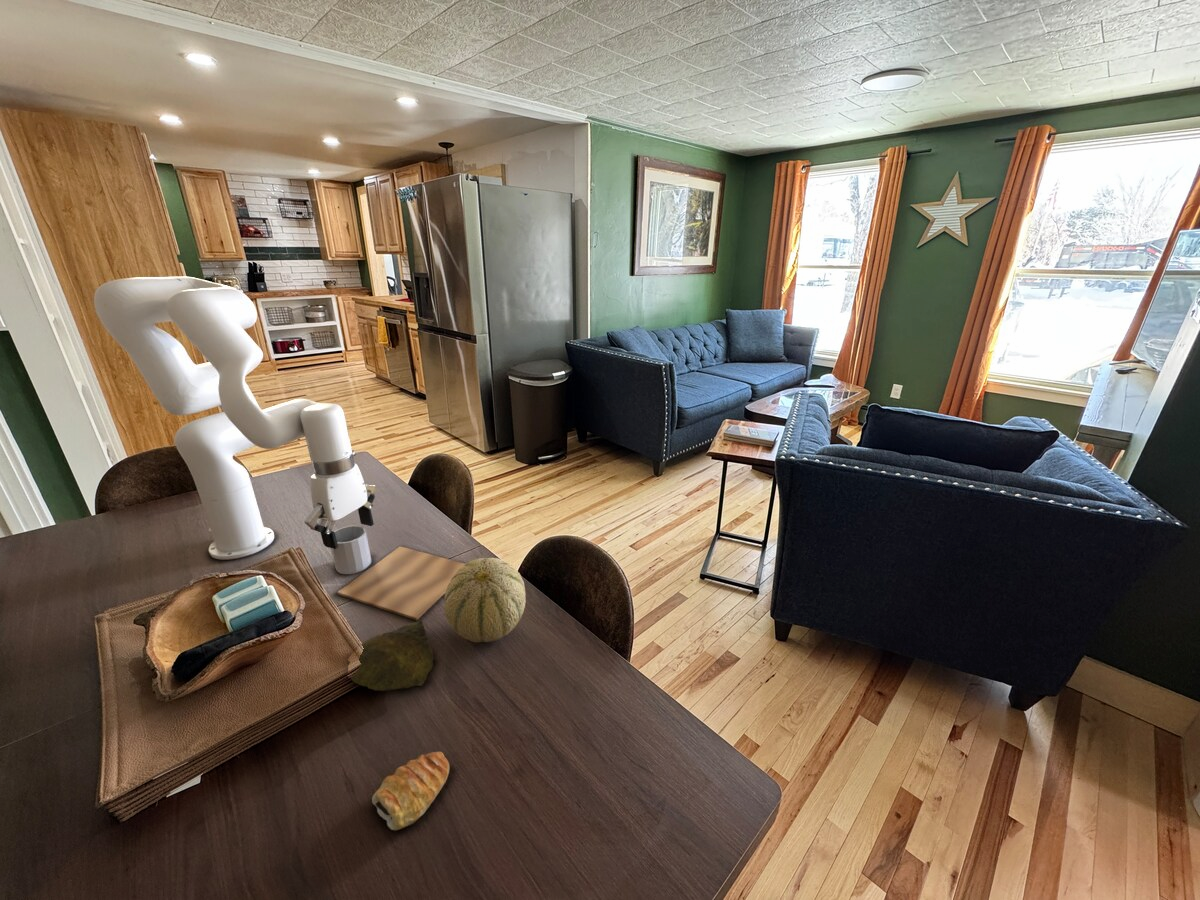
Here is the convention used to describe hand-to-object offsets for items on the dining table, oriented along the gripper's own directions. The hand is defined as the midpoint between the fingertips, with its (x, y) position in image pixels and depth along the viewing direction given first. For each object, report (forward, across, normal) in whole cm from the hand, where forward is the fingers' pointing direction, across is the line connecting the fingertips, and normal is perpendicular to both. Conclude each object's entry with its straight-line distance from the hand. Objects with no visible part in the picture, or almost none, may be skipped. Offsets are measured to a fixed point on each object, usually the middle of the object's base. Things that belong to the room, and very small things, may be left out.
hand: (350, 535), depth 103 cm
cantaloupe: (+9, +6, +38) cm, 40 cm away
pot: (+8, 0, -1) cm, 8 cm away
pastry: (+9, +35, +45) cm, 58 cm away
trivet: (+8, 0, +14) cm, 16 cm away
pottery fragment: (+8, +18, +27) cm, 34 cm away
